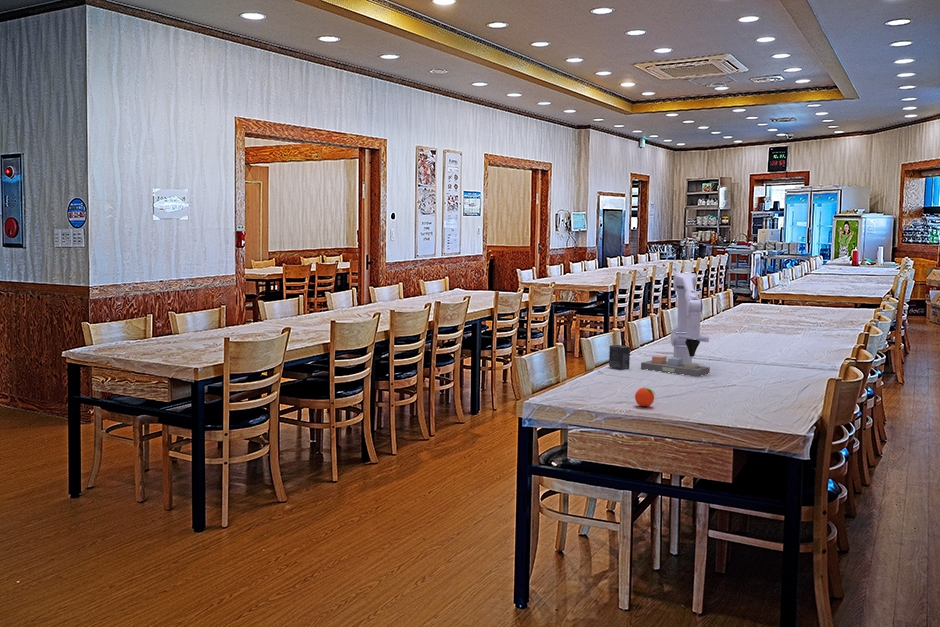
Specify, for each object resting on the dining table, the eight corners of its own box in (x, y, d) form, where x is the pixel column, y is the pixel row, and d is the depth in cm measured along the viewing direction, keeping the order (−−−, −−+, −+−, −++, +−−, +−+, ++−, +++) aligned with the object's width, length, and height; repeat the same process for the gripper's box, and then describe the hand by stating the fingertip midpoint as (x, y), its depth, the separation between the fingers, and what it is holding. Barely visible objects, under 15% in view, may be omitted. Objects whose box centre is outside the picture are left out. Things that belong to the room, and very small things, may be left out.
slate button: (672, 366, 381) (673, 357, 380) (682, 367, 378) (682, 358, 377) (667, 367, 377) (668, 358, 377) (677, 368, 374) (677, 359, 374)
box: (629, 369, 382) (630, 346, 380) (621, 370, 378) (622, 347, 377) (616, 366, 388) (617, 344, 386) (608, 367, 384) (609, 345, 383)
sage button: (688, 371, 376) (689, 362, 375) (698, 372, 373) (698, 363, 372) (683, 372, 372) (684, 363, 372) (693, 374, 369) (694, 364, 369)
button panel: (653, 366, 391) (653, 359, 391) (709, 373, 373) (709, 367, 373) (640, 369, 382) (640, 362, 382) (697, 377, 364) (697, 370, 363)
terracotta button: (656, 364, 386) (657, 355, 386) (666, 365, 383) (666, 356, 382) (651, 365, 382) (652, 356, 382) (661, 366, 379) (661, 357, 379)
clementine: (660, 407, 300) (660, 387, 300) (650, 410, 295) (651, 390, 295) (640, 403, 306) (641, 384, 305) (630, 406, 301) (631, 387, 300)
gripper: (674, 325, 372) (672, 355, 373) (704, 328, 362) (703, 359, 364) (681, 324, 377) (680, 353, 379) (711, 327, 368) (710, 357, 369)
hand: (691, 356), depth 372 cm, fingers closed
